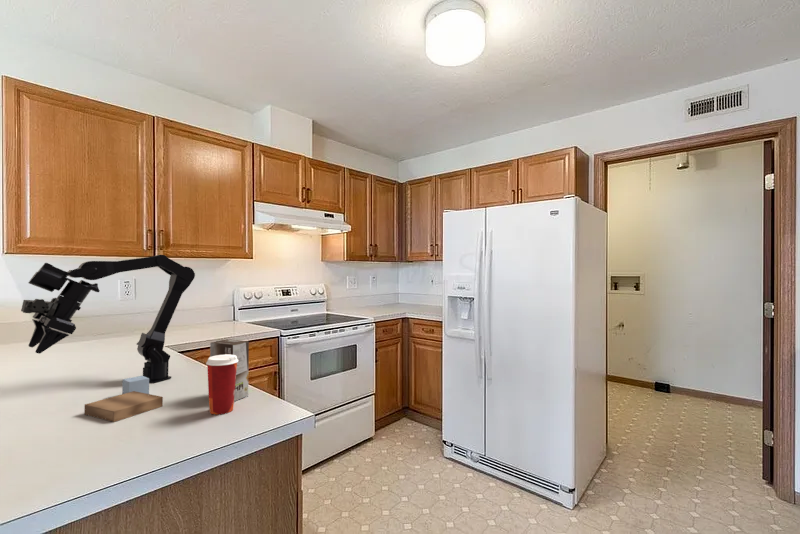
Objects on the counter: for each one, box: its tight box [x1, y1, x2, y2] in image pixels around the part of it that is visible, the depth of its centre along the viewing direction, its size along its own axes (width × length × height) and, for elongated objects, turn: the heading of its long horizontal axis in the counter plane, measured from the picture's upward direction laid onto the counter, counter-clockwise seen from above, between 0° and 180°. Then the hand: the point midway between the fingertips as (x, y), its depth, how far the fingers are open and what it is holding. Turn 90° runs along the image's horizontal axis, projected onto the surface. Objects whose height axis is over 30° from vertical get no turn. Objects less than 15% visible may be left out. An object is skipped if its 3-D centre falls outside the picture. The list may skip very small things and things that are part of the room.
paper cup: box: [205, 354, 238, 416], centre depth 99 cm, size 8×8×14 cm
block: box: [121, 375, 150, 394], centre depth 110 cm, size 5×5×5 cm
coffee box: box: [209, 339, 250, 402], centre depth 110 cm, size 9×6×16 cm
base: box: [83, 391, 164, 423], centre depth 99 cm, size 12×12×2 cm
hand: (33, 349), depth 105 cm, fingers open, 9 cm apart
